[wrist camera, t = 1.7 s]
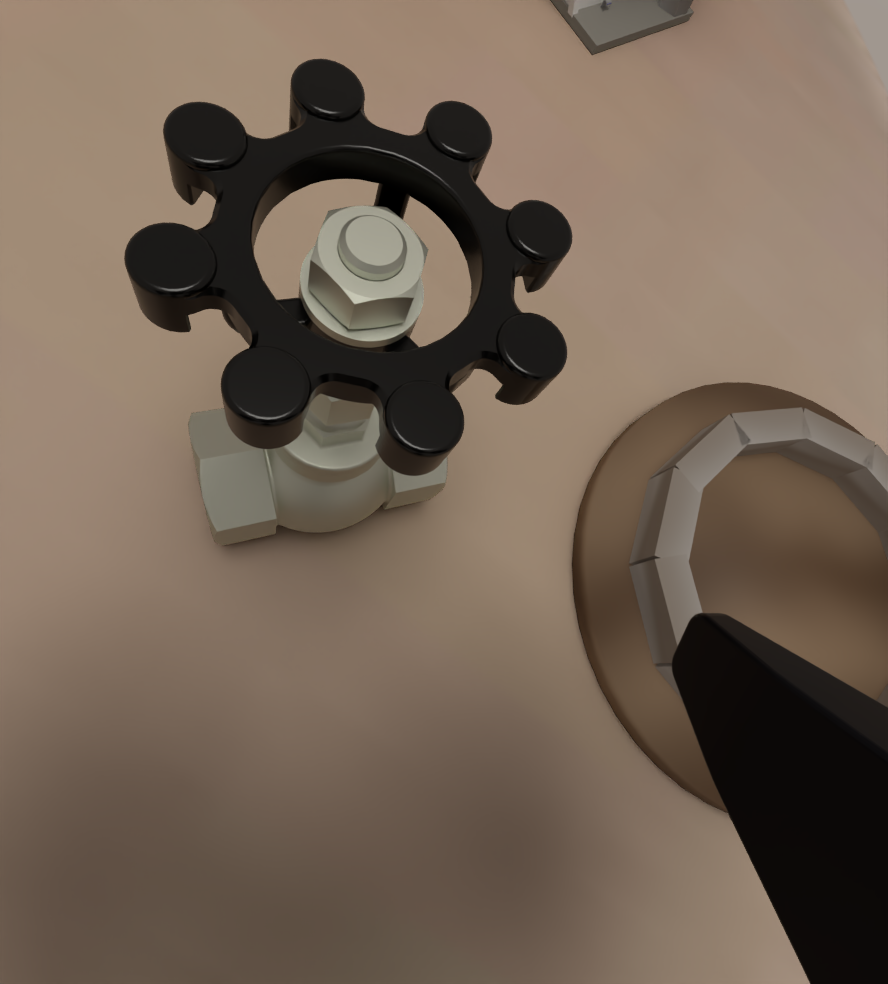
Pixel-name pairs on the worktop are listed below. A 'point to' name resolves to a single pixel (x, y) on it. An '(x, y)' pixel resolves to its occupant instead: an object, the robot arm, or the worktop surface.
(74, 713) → the worktop surface
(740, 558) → the collar base
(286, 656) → the worktop surface
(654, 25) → the skyscraper
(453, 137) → the valve
